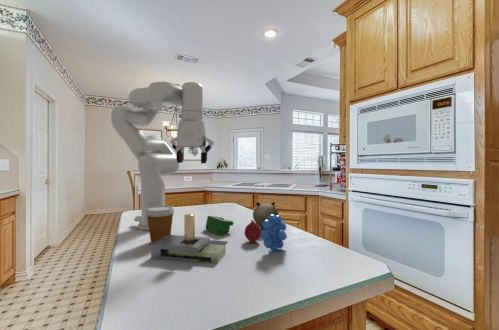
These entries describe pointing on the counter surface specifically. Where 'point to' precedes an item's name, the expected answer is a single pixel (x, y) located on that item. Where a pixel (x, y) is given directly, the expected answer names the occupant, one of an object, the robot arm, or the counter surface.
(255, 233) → the onion
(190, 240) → the pin
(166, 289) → the counter surface
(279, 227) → the grapes
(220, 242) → the mat
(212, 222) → the green angular piece
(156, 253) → the clevis
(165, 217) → the disposable coffee cup
